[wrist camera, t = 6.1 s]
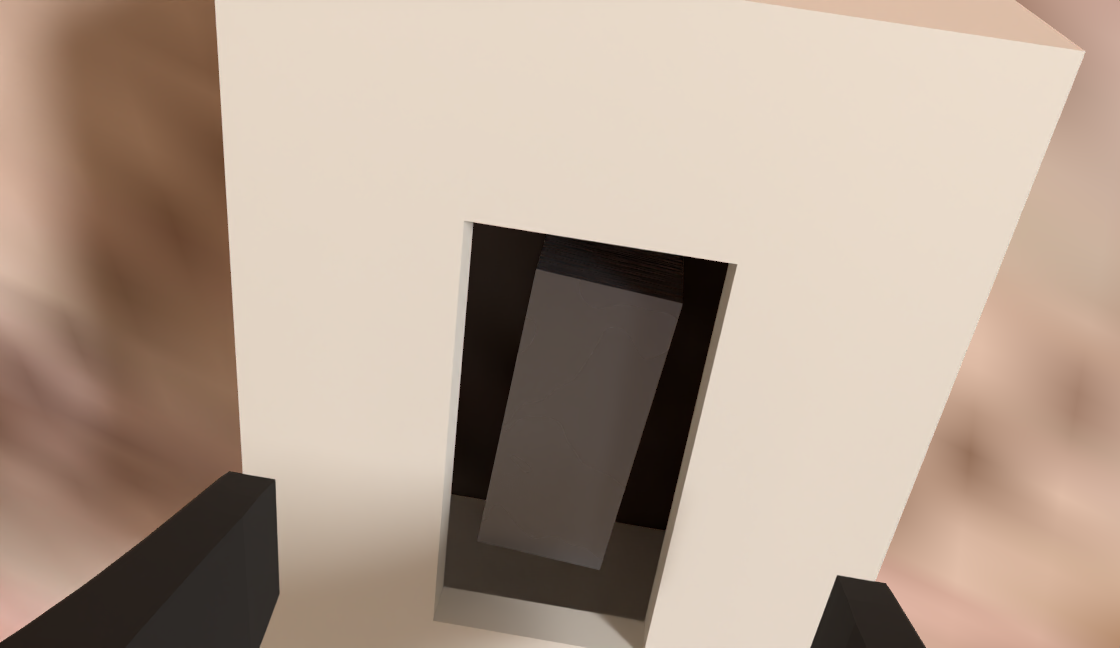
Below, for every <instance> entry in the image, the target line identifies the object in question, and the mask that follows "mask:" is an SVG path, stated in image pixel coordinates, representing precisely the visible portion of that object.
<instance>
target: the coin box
mask: <svg viewBox="0 0 1120 648" xmlns="http://www.w3.org/2000/svg"><path fill="white" fill-rule="evenodd" d="M215 12H216V29H217V46H218V63H219V80H220V97H221V114H222V131H223V148H224V165H225V182H226V199H227V216H228V232H229V249H230V266H231V283H232V300H233V317H234V334H235V351H236V368H237V385H238V402H239V419H240V436H241V453H242V470H243V474H247V475H253V476H259V477H265V478H271V479H275V481H276V508H277V534H278V561H279V588H280V594H279V597H278V600H277V603H276V605H275V608H274V611H273V613H272V616H271V619H270V622H269V624H268V627H267V630H266V632H265V635H264V638H263V640H262V643H261V645H260V648H810V647H811V645H812V642H813V639H814V636H815V634H816V631H817V628H818V625H819V623H820V620H821V617H822V615H823V612H824V609H825V606H826V604H827V601H828V598H829V596H830V593H831V590H832V587H833V585H834V582H835V579H836V577H837V575H840V576H846V577H852V578H857V579H863V580H869V581H875V580H876V578H877V575H878V573H879V570H880V568H881V565H882V563H883V560H884V558H885V555H886V553H887V550H888V548H889V545H890V543H891V540H892V538H893V535H894V533H895V530H896V528H897V525H898V523H899V520H900V517H901V515H902V512H903V510H904V507H905V505H906V502H907V500H908V497H909V495H910V492H911V490H912V487H913V485H914V482H915V480H916V477H917V475H918V472H919V470H920V467H921V465H922V462H923V460H924V457H925V455H926V452H927V449H928V447H929V444H930V442H931V439H932V437H933V434H934V432H935V429H936V427H937V424H938V422H939V419H940V417H941V414H942V412H943V409H944V407H945V404H946V402H947V399H948V397H949V394H950V392H951V389H952V387H953V384H954V382H955V379H956V376H957V374H958V371H959V369H960V366H961V364H962V361H963V359H964V356H965V354H966V351H967V349H968V346H969V344H970V341H971V339H972V336H973V334H974V331H975V329H976V326H977V324H978V321H979V319H980V316H981V314H982V311H983V309H984V306H985V303H986V301H987V298H988V296H989V293H990V291H991V288H992V286H993V283H994V281H995V278H996V276H997V273H998V271H999V268H1000V266H1001V263H1002V261H1003V258H1004V256H1005V253H1006V251H1007V248H1008V246H1009V243H1010V241H1011V238H1012V236H1013V233H1014V230H1015V228H1016V225H1017V223H1018V220H1019V218H1020V215H1021V213H1022V210H1023V208H1024V205H1025V203H1026V200H1027V198H1028V195H1029V193H1030V190H1031V188H1032V185H1033V183H1034V180H1035V178H1036V175H1037V173H1038V170H1039V168H1040V165H1041V162H1042V160H1043V157H1044V155H1045V152H1046V150H1047V147H1048V145H1049V142H1050V140H1051V137H1052V135H1053V132H1054V130H1055V127H1056V125H1057V122H1058V120H1059V117H1060V115H1061V112H1062V110H1063V107H1064V105H1065V102H1066V100H1067V97H1068V95H1069V92H1070V89H1071V87H1072V84H1073V82H1074V79H1075V77H1076V74H1077V72H1078V69H1079V67H1080V64H1081V62H1082V59H1083V57H1084V54H1085V52H1086V51H1084V50H1083V49H1081V48H1080V47H1079V46H1077V45H1076V44H1075V43H1073V42H1072V41H1070V40H1069V39H1068V38H1066V37H1065V36H1063V35H1062V34H1061V33H1059V32H1058V31H1057V30H1055V29H1054V28H1052V27H1051V26H1050V25H1048V24H1047V23H1046V22H1044V21H1043V20H1041V19H1040V18H1039V17H1037V16H1036V15H1035V14H1033V13H1032V12H1030V11H1029V10H1028V9H1026V8H1025V7H1024V6H1022V5H1021V4H1019V3H1018V2H1017V1H1015V0H215ZM473 222H475V223H482V224H488V225H494V226H501V227H507V228H513V229H519V230H526V231H532V232H538V233H544V234H551V235H557V236H563V237H569V238H576V239H582V240H588V241H595V242H601V243H607V244H613V245H620V246H626V247H632V248H638V249H645V250H651V251H657V252H664V253H670V254H676V255H682V256H689V257H695V258H701V259H707V260H714V261H720V262H726V263H729V265H728V269H727V274H726V278H725V282H724V286H723V291H722V295H721V299H720V303H719V308H718V312H717V316H716V320H715V325H714V329H713V333H712V337H711V342H710V346H709V350H708V354H707V358H706V363H705V367H704V371H703V375H702V380H701V384H700V388H699V392H698V397H697V401H696V405H695V409H694V414H693V418H692V422H691V426H690V431H689V435H688V439H687V443H686V447H685V452H684V456H683V460H682V464H681V469H680V473H679V477H678V481H677V486H676V490H675V494H674V498H673V503H672V507H671V511H670V515H669V520H668V524H667V528H666V531H665V530H659V529H653V528H647V527H641V526H635V525H629V524H624V523H618V522H615V523H614V526H613V529H612V532H611V535H610V539H609V542H608V545H607V548H606V551H605V555H604V558H603V561H602V564H601V567H600V570H597V569H593V568H588V567H584V566H580V565H576V564H571V563H567V562H563V561H559V560H554V559H550V558H546V557H541V556H537V555H533V554H529V553H524V552H520V551H516V550H512V549H507V548H503V547H499V546H495V545H490V544H486V543H482V542H478V541H477V540H478V535H479V530H480V526H481V521H482V517H483V512H484V507H485V503H486V500H482V499H476V498H471V497H465V496H459V495H453V494H451V487H452V475H453V463H454V451H455V438H456V426H457V414H458V402H459V390H460V378H461V366H462V354H463V342H464V330H465V318H466V306H467V293H468V281H469V269H470V257H471V245H472V233H473Z"/></svg>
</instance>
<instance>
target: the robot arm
mask: <svg viewBox="0 0 1120 648" xmlns="http://www.w3.org/2000/svg"><path fill="white" fill-rule="evenodd" d="M279 594H280V588H279V561H278V534H277V508H276V481H275V479H271V478H265V477H259V476H253V475H247V474H241V473H235V472H230V471H229V472H228V473H226V474H225V475H223V476H222V477H220V478H219V479H218V480H217V481H215V482H214V483H213V484H212V485H210V486H209V487H208V488H207V489H205V490H204V491H203V492H202V493H201V494H199V495H198V496H197V497H196V498H194V499H193V500H192V501H191V502H190V503H188V504H187V505H186V506H185V507H183V508H182V509H181V510H180V511H179V512H177V513H176V514H175V515H174V516H172V517H171V518H170V519H169V520H167V521H166V522H165V523H164V524H162V525H161V526H160V527H159V528H157V529H156V530H155V531H154V532H152V533H151V534H150V535H149V536H147V537H146V538H145V539H144V540H142V541H141V542H140V543H139V544H137V545H136V546H135V547H133V548H132V549H131V550H129V551H128V552H127V553H125V554H124V555H123V556H122V557H120V558H119V559H118V560H116V561H115V562H114V563H112V564H111V565H110V566H108V567H107V568H106V569H105V570H103V571H102V572H101V573H99V574H98V575H97V576H95V577H94V578H93V579H91V580H90V581H89V582H87V583H86V584H85V585H83V586H82V587H80V588H79V589H78V590H76V591H75V592H73V593H72V594H70V595H69V596H68V597H66V598H65V599H63V600H62V601H60V602H59V603H58V604H56V605H55V606H53V607H52V608H50V609H49V610H48V611H46V612H45V613H43V614H42V615H40V616H39V617H38V618H36V619H35V620H33V621H32V622H30V623H29V624H28V625H26V626H25V627H23V628H22V629H20V630H19V631H17V632H16V633H14V634H13V635H11V636H9V637H8V638H6V639H5V640H3V641H2V642H0V648H260V645H261V643H262V640H263V638H264V635H265V632H266V630H267V627H268V624H269V622H270V619H271V616H272V613H273V611H274V608H275V605H276V603H277V600H278V597H279ZM810 648H926V647H925V645H924V644H923V642H922V640H921V639H920V637H919V636H918V634H917V632H916V631H915V629H914V627H913V626H912V624H911V622H910V621H909V619H908V618H907V616H906V614H905V613H904V611H903V609H902V608H901V606H900V604H899V603H898V601H897V600H896V598H895V596H894V595H893V593H892V592H891V590H890V589H889V587H888V586H887V584H886V583H881V582H875V581H869V580H863V579H857V578H852V577H846V576H840V575H837V577H836V579H835V582H834V585H833V587H832V590H831V593H830V596H829V598H828V601H827V604H826V606H825V609H824V612H823V615H822V617H821V620H820V623H819V625H818V628H817V631H816V634H815V636H814V639H813V642H812V645H811V647H810Z"/></svg>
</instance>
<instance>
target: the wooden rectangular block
mask: <svg viewBox="0 0 1120 648" xmlns="http://www.w3.org/2000/svg"><path fill="white" fill-rule="evenodd" d="M682 305H683V256H682V255H676V254H670V253H664V252H657V251H651V250H645V249H638V248H632V247H626V246H620V245H613V244H607V243H601V242H595V241H588V240H582V239H576V238H569V237H563V236H557V235H551V234H546V238H545V241H544V244H543V248H542V251H541V254H540V258H539V261H538V265H537V268H536V272H535V277H534V281H533V286H532V291H531V295H530V300H529V304H528V309H527V314H526V318H525V323H524V327H523V332H522V337H521V341H520V346H519V350H518V355H517V360H516V364H515V369H514V374H513V378H512V383H511V387H510V392H509V397H508V401H507V406H506V410H505V415H504V420H503V424H502V429H501V434H500V438H499V443H498V447H497V452H496V457H495V461H494V466H493V470H492V475H491V480H490V484H489V489H488V493H487V498H486V503H485V507H484V512H483V517H482V521H481V526H480V530H479V535H478V540H477V541H478V542H482V543H486V544H490V545H495V546H499V547H503V548H507V549H512V550H516V551H520V552H524V553H529V554H533V555H537V556H541V557H546V558H550V559H554V560H559V561H563V562H567V563H571V564H576V565H580V566H584V567H588V568H593V569H597V570H600V567H601V564H602V561H603V558H604V555H605V551H606V548H607V545H608V542H609V539H610V535H611V532H612V529H613V526H614V523H615V519H616V516H617V513H618V510H619V507H620V503H621V500H622V497H623V494H624V491H625V487H626V484H627V481H628V478H629V475H630V471H631V468H632V465H633V462H634V459H635V455H636V452H637V449H638V446H639V443H640V439H641V436H642V433H643V430H644V427H645V423H646V420H647V417H648V414H649V411H650V407H651V404H652V401H653V398H654V395H655V391H656V388H657V385H658V382H659V379H660V375H661V372H662V369H663V366H664V363H665V359H666V356H667V353H668V350H669V347H670V343H671V340H672V337H673V334H674V331H675V327H676V324H677V321H678V318H679V315H680V311H681V308H682Z"/></svg>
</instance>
